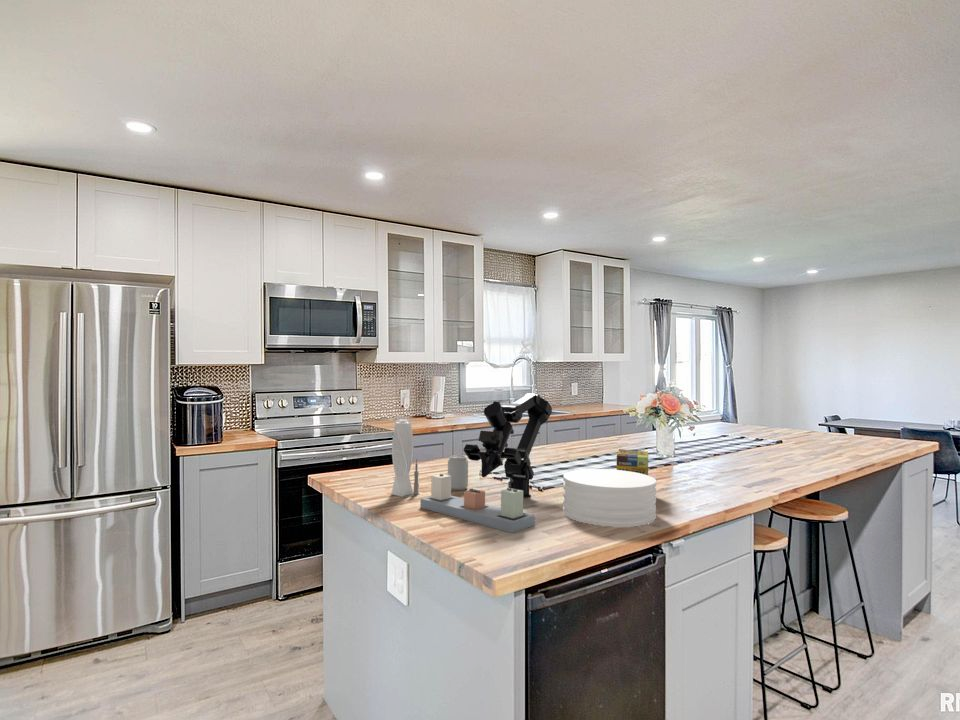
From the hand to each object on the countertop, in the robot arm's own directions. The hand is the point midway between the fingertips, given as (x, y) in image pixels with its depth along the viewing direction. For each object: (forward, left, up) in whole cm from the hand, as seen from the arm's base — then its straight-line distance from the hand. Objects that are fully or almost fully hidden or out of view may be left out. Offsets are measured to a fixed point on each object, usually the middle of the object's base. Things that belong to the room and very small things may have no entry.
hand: (482, 476), depth 169 cm
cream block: (+11, -9, -8) cm, 16 cm away
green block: (-4, +16, -8) cm, 18 cm away
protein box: (-57, -5, -11) cm, 59 cm away
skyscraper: (+20, -29, -12) cm, 37 cm away
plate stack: (-37, +12, -12) cm, 41 cm away
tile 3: (+4, +3, -11) cm, 12 cm away
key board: (+4, +3, -11) cm, 12 cm away
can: (-1, -33, -11) cm, 35 cm away
